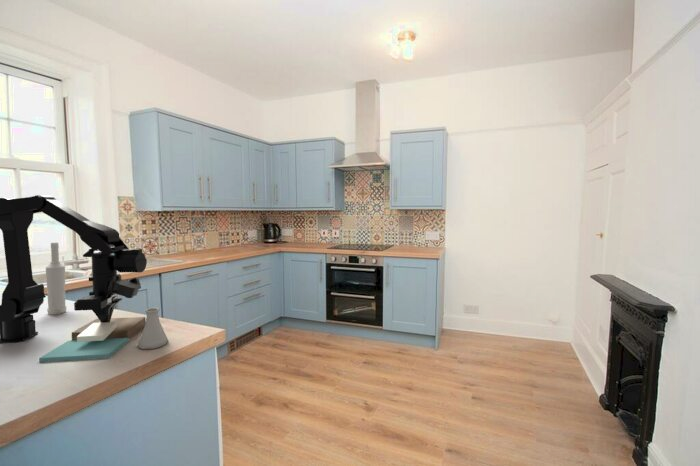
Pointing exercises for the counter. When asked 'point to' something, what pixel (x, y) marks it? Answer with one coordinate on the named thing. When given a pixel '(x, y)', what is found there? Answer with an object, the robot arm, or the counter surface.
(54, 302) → the bottle
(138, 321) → the walnut deck
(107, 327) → the cream tile
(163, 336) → the flask
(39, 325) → the counter surface
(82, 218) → the robot arm
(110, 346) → the teal mat
